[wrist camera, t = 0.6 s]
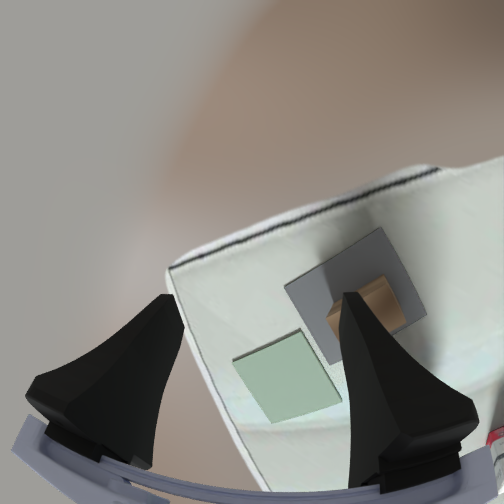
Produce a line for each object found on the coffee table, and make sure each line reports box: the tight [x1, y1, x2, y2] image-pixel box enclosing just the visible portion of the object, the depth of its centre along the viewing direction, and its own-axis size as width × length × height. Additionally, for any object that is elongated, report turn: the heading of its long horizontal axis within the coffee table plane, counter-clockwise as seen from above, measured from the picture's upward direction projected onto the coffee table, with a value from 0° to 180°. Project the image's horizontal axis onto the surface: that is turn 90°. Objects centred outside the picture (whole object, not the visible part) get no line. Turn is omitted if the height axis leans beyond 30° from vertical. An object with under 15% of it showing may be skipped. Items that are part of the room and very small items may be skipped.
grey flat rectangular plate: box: [284, 227, 427, 365], centre depth 31 cm, size 12×14×1 cm
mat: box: [232, 331, 342, 423], centre depth 35 cm, size 12×12×1 cm
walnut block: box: [326, 274, 406, 343], centre depth 27 cm, size 4×7×6 cm, turn 124°
